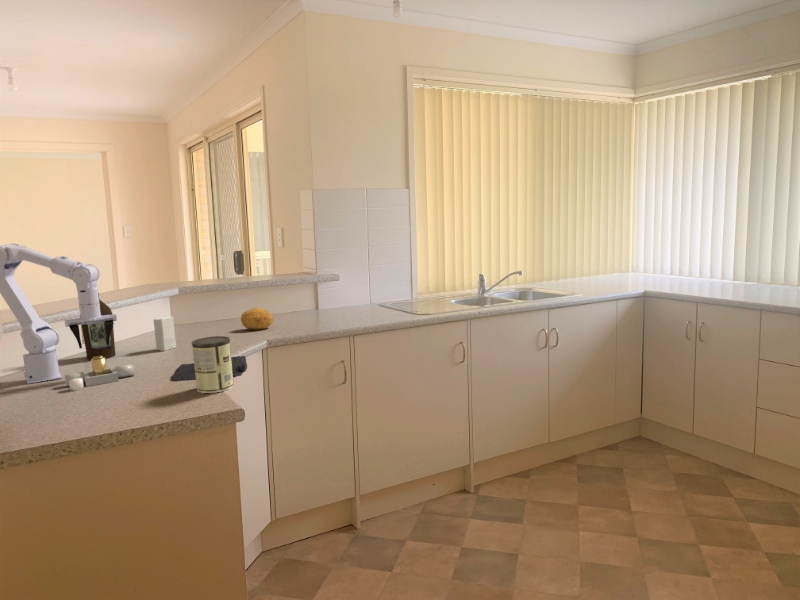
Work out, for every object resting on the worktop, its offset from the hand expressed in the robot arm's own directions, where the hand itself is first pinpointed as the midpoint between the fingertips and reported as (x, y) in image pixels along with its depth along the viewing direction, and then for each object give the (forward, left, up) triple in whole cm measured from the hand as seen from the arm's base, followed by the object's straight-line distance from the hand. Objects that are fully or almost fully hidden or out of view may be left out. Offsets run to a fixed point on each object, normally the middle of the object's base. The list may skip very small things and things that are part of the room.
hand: (94, 346), depth 192 cm
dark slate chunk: (+30, -22, -11) cm, 39 cm away
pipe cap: (-7, -13, -10) cm, 17 cm away
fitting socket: (0, -7, -10) cm, 12 cm away
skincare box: (+26, +27, -10) cm, 39 cm away
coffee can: (+26, -41, -10) cm, 50 cm away
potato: (+66, +40, -10) cm, 78 cm away
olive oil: (+4, +31, -10) cm, 33 cm away
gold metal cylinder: (0, -7, -10) cm, 12 cm away
